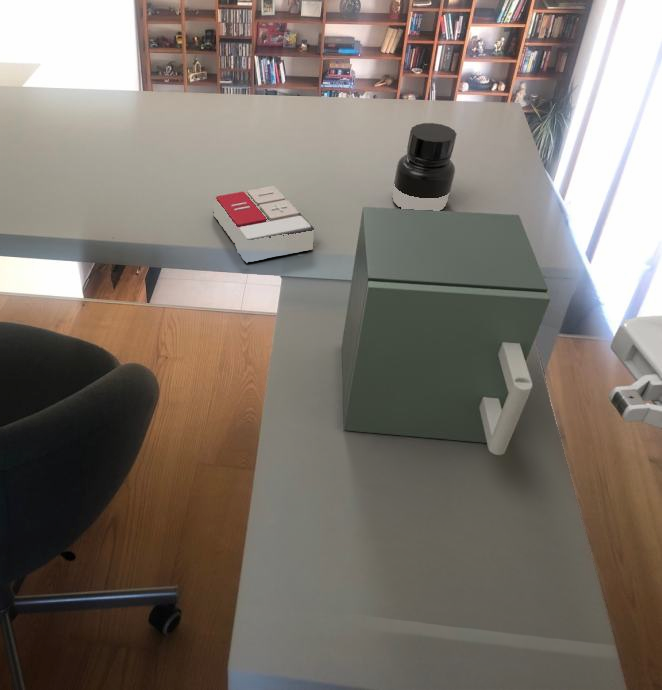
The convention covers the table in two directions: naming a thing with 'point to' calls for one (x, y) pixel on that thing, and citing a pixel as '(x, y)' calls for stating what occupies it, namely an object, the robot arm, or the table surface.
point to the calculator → (274, 208)
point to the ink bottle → (427, 162)
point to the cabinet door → (443, 362)
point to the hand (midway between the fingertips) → (618, 404)
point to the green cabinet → (435, 259)
